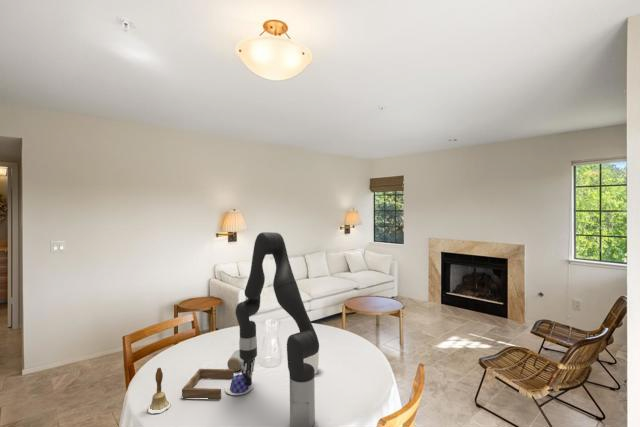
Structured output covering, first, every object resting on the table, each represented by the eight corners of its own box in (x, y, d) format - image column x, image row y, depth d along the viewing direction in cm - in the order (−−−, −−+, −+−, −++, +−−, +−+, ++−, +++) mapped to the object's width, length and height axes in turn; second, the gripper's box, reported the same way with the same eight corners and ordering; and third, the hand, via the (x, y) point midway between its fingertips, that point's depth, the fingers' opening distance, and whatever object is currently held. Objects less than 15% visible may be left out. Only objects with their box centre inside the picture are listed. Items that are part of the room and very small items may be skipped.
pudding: (226, 383, 148) (226, 371, 148) (253, 380, 151) (253, 369, 151) (223, 398, 137) (223, 386, 137) (253, 394, 139) (253, 382, 139)
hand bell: (164, 399, 136) (163, 361, 136) (174, 407, 131) (173, 367, 131) (143, 409, 130) (142, 369, 129) (153, 417, 124) (152, 376, 124)
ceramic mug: (226, 372, 158) (226, 356, 158) (233, 364, 166) (233, 349, 166) (247, 373, 157) (247, 358, 157) (253, 365, 165) (253, 350, 165)
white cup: (317, 376, 153) (316, 355, 153) (300, 375, 155) (300, 354, 155) (320, 368, 161) (320, 348, 161) (304, 367, 163) (304, 347, 162)
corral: (220, 399, 135) (220, 390, 135) (182, 399, 136) (181, 389, 136) (233, 377, 153) (233, 369, 153) (199, 377, 154) (199, 368, 154)
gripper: (252, 352, 136) (253, 393, 137) (260, 339, 150) (261, 377, 150) (234, 352, 137) (235, 393, 137) (244, 339, 150) (244, 377, 150)
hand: (248, 385), depth 144 cm, fingers closed
